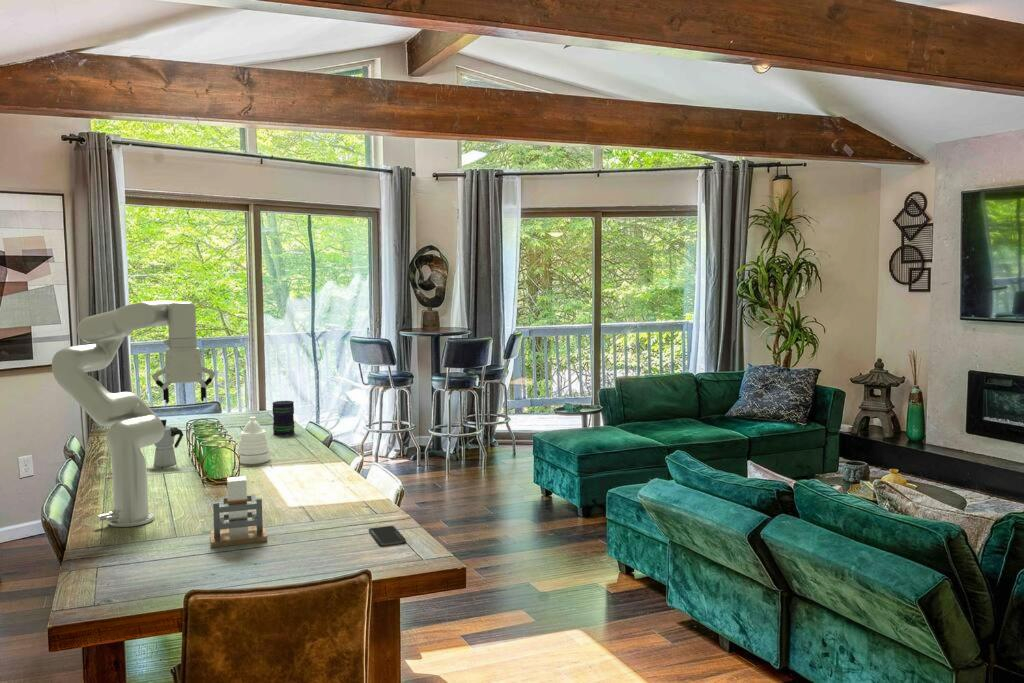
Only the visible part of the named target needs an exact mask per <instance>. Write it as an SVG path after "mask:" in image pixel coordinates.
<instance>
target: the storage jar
mask: <svg viewBox="0 0 1024 683" xmlns="http://www.w3.org/2000/svg"><path fill="white" fill-rule="evenodd" d="M294 402H295V401H292V400H277V401H273V402H272V415H273V416H272V417H273V422H272V429H273V434H272V435H274V436H282V437H283V436H291V435H294V434H295V426H296V425H295V421H294V413H295V406H294Z"/></svg>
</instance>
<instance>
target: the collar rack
mask: <svg viewBox="0 0 1024 683" xmlns="http://www.w3.org/2000/svg"><path fill="white" fill-rule="evenodd" d="M226 504H227V505H226ZM212 507H213V510H212V511H213V530H210V548H220V547H229V546H236V545H237V546H238V545H248V544H256V543H257V544H258V543H265V542H268V534H267V530H266V525H265V524H264V523H263V498H262V497H256V494H247V503H246V504H235V505H228V496H225V497H218V501H214V502H212ZM243 510H247V518H248V520H242V521H232V522H229V514H228V512H233V511H243ZM249 518H251V519H249ZM240 527H248V535H244V536H235V537H229V529H231V528H240Z"/></svg>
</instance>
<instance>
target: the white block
mask: <svg viewBox="0 0 1024 683" xmlns="http://www.w3.org/2000/svg"><path fill="white" fill-rule="evenodd" d="M246 476H247V475H241V476H239V475H238V476H228V477H227V478H226V480H227V482H226V483H227V497H228V504H227V505H235V504H246V503H248V502H247V495H248V493H247V477H246ZM247 511H248V510H243V511H233V512H227V513H228V514H229V520H228V522H232V521H242V520H249V518H247ZM244 535H248V527H240V528H231V529H229V537H235V536H244Z"/></svg>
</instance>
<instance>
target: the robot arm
mask: <svg viewBox="0 0 1024 683" xmlns="http://www.w3.org/2000/svg"><path fill="white" fill-rule="evenodd" d="M196 316H197V315H196V306H195V304H194V302H192V301H173V300H150V301H140V302H136V303H135V302H134V303H132V304H131V303H130V304H127V305H124V306H120V307H118V308H117V309H113V310H109V311H106V312H102V313H98V314H94V315H93V314H92V315H90V316H87V317H84V318H83V319H81V321H79V323H78V324H77V328H76V334H77V335H78V337H79V338H80V339H81V340H82V341H84V342H86V343H88V344H79V345H73V346H67V347H64V348H61V349H59V350H58V351H57V352H56V353H55V354H54V355H53V357H52V360H51V370H52V374H53V377H54V379H55V381H56V383H57V384H58V385H59V386H60V387H61V388H62V389H63V390H64V391H65V392H66V393H68V394H69V395H70V396H71V397H72V398H73V399H74V400H75V401H76V402H77V403H78V405H80V407H81V408H82V409H83V410H84V411H85V412H86V413H87V415H89V417H90V418H91V419H92V420H93V421H94V422H95V423H96V424H97V425H99V426H103V427H106V426H107V427H108V426H110V427H109V428H108V430H107V433H106V440H107V445H108V448H109V452H110V459H111V470H112V471H111V472H112V474H111V475H112V491H113V492H112V493H113V496H112V497H113V508H110V511H108V512H106V513H101V514H98V515H97V517H96V518H97V521H98V522H103V521H106V522H108V524H109V525H110V526H111V527H116V528H129V527H130V528H131V527H137V526H141V525H146V524H148V523H151V522H153V520H154V519H155V514H154V513H152V512H150V511H149V493H148V490H149V489H148V470H147V469H148V468H147V462H146V459H145V456H144V454H143V453H142V451H141V448H146V447H148V446H152V445H155V443H157V442H159V441H160V440H161V439H162V437H163V435H164V427H163V424H162V422H161V420H162V419H160V417H159V416H158V415H157V414H156V413H155V412H154V411H153V410H152V409H151V408H150V406H149V405H148V404H147V403H146V402H145V401H144V400H143V398H141V397H140V396H139V395H137V394H136V393H133V392H131V391H120V392H115V393H114V392H111V391H109V390H107V388H105V387H104V386H103V384H102V383H101V382H100V381H98V380H97V379H96V378H94V377H93V376H90V375H88V374H86V373H88V372H96V371H100V370H104V369H106V368H107V367H108V366H109V365H110V364H111V363H112V362H113V360H114V358H115V356H116V355H117V352H118V350H119V348H120V347H121V345H122V344H123V341H124V339H125V337H128V336H130V335H131V334H132V333H133V332H134V331H136V330H140V329H146V328H147V329H148V328H155V327H167V328H168V339H166V340H163V346H168V348H167V349H166V351H165V359H164V368H162V369H160V370H158V371H156V372H154V373H153V374H152V375H151V377H152V379H153V380H154V382H155V384H156V385H157V386H158V387H159V388H161V390H162V394H163V395H162V396H163V397H162V400H163V401H165V403H166V404H168V403H170V394H169V393H170V389H169V386H170V385H171V384H187V383H198V384H199V385H200V400H201V402H204V399H206V398H207V390H206V389H207V387H208V386H209V385H210V384H211V383H212V381H213V379H214V377H215V376H216V372H215V371H214V370H212V369H210V368H207V367H205V366H203V362H202V361H203V360H202V355H201V350H200V348H199V347H198V346H197V320H196V318H197V317H196ZM203 373H206V374H208V375H209V376H208V378H206V380H204V379H203ZM162 375H164V378H165V382H163V381H162V380H160V378H159V377H161V376H162Z"/></svg>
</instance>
